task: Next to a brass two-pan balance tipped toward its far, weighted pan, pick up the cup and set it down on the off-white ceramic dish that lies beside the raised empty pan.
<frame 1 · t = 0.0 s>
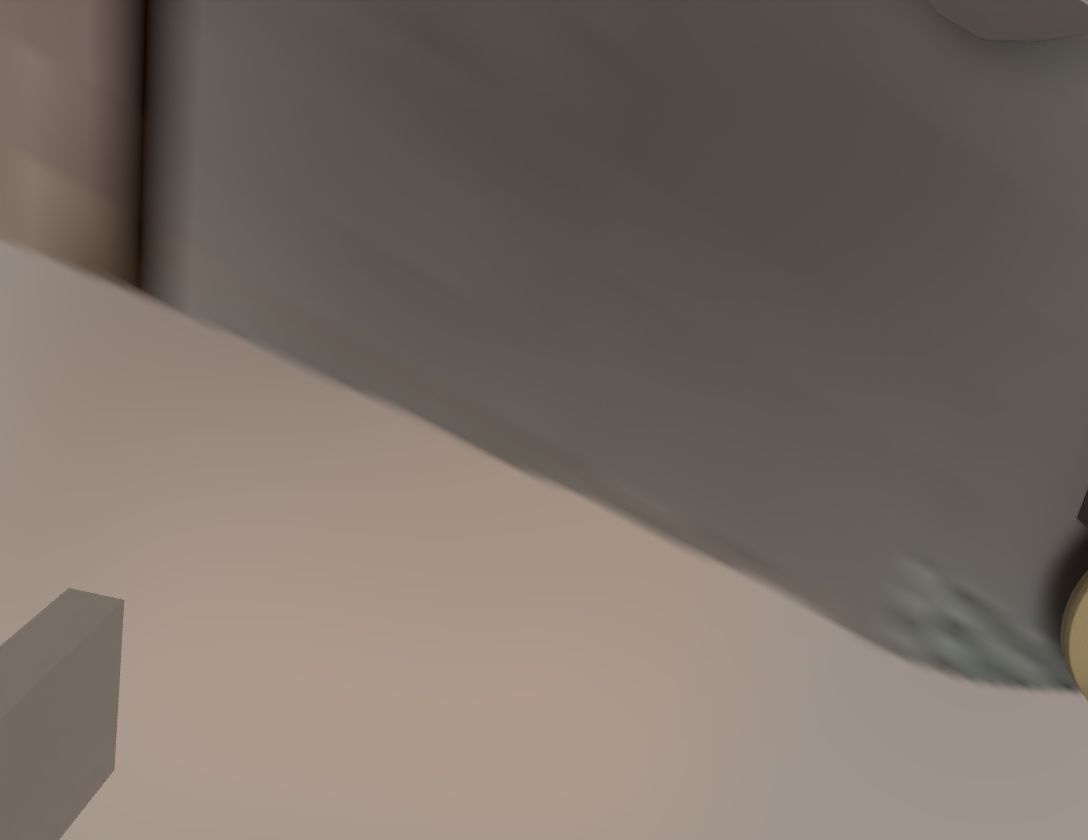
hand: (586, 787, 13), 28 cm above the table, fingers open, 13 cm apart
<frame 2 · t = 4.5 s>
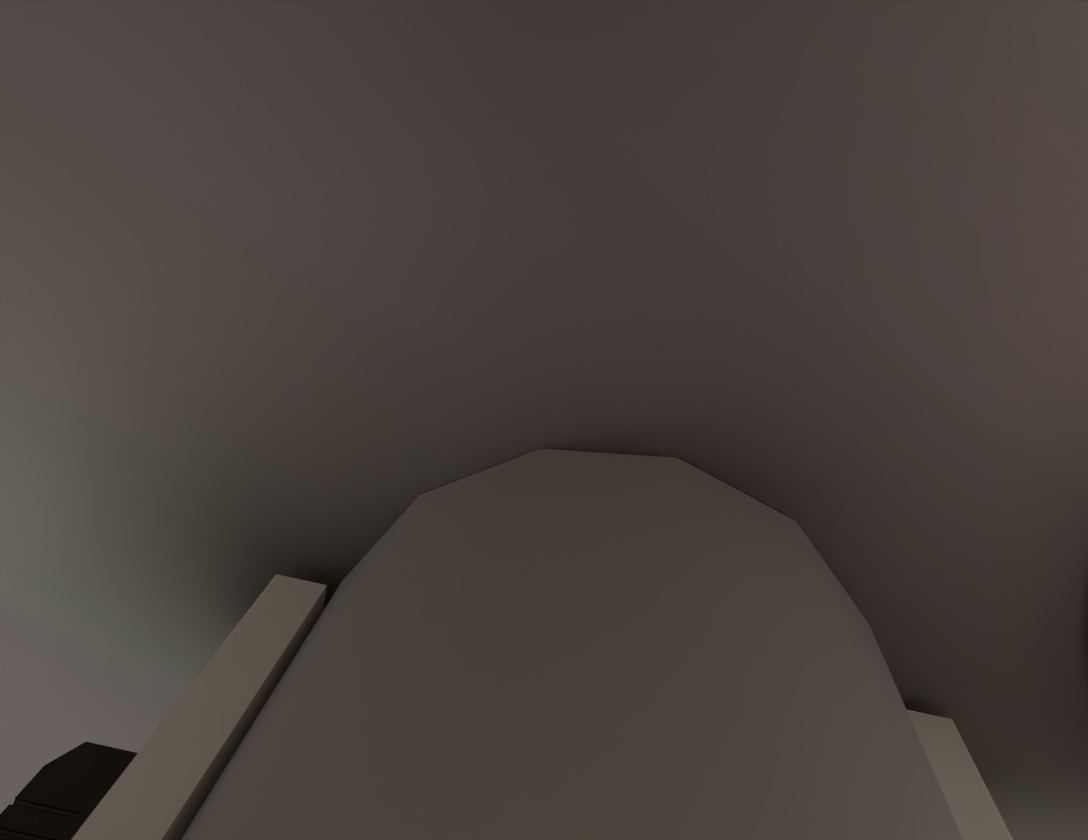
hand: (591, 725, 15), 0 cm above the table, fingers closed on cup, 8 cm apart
cup: (593, 703, 15), on the table, touching gripper
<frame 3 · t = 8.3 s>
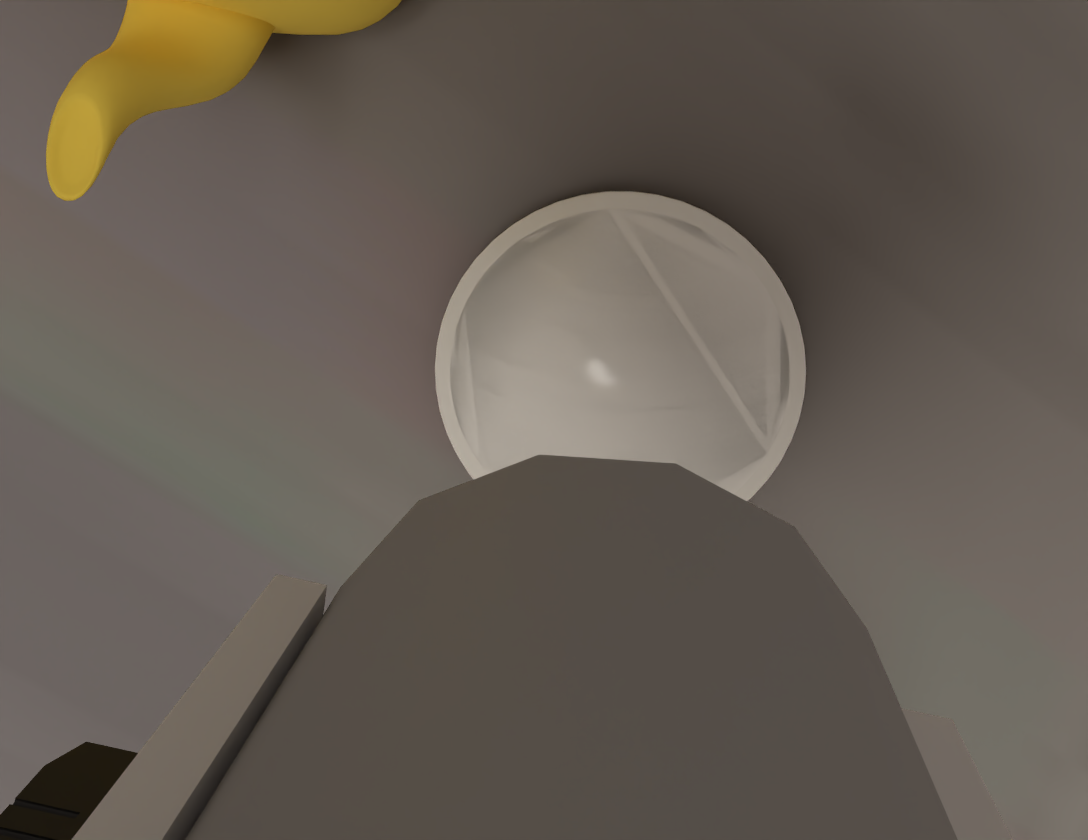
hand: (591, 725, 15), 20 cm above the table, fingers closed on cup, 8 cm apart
cup: (592, 708, 15), point 19 cm above the table, touching gripper
dish: (618, 371, 33), on the table
when the fingers open (3 cm above the table, at t = 12.0 s): cup drops 1 cm, resting on dish.
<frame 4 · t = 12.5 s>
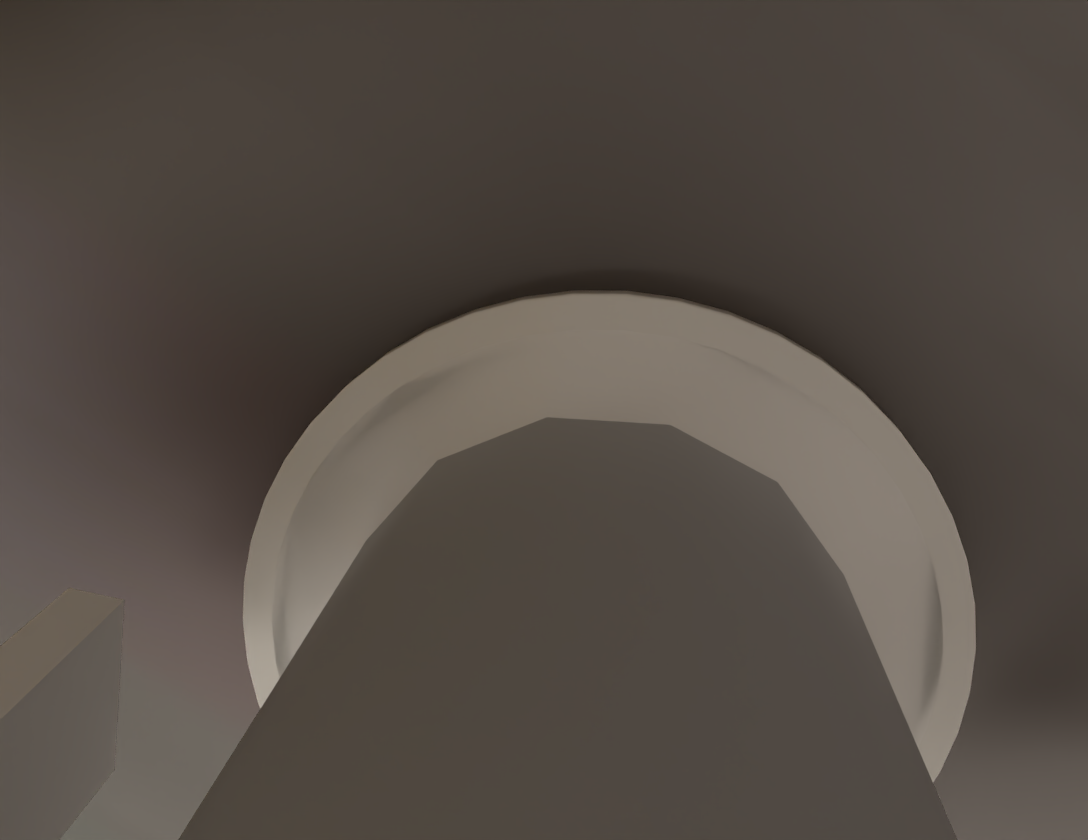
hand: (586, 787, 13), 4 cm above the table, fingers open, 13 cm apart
cup: (595, 651, 17), point 1 cm above the table, touching dish
dish: (599, 620, 18), on the table
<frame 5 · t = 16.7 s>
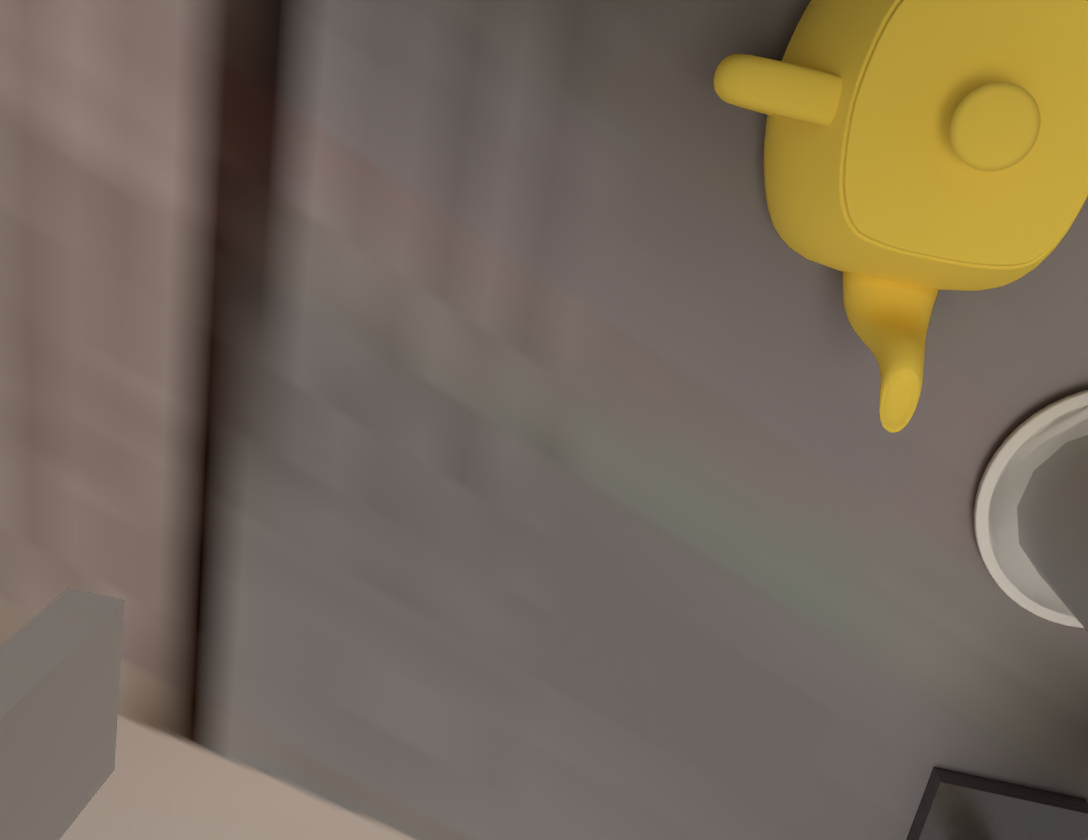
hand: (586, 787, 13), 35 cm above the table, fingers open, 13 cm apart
teapot: (877, 115, 43), on the table
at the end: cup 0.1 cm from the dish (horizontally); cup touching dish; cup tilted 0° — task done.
